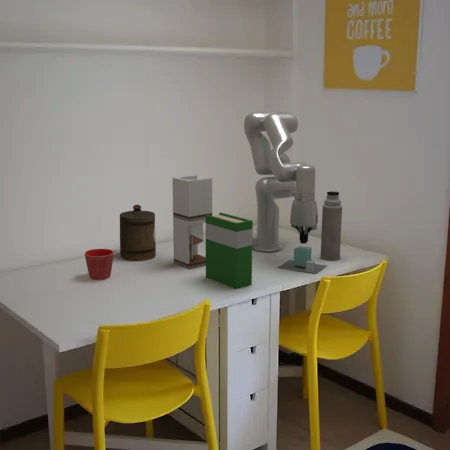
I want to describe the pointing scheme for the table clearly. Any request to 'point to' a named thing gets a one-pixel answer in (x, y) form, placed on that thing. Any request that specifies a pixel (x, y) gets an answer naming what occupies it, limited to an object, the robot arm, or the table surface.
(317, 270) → the post stand
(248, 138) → the robot arm
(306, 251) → the teal rectangular block
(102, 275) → the flower pot
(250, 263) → the hardback book
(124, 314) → the table surface
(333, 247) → the thermos bottle
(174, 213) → the white coffee maker
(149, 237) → the wooden container
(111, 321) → the table surface
